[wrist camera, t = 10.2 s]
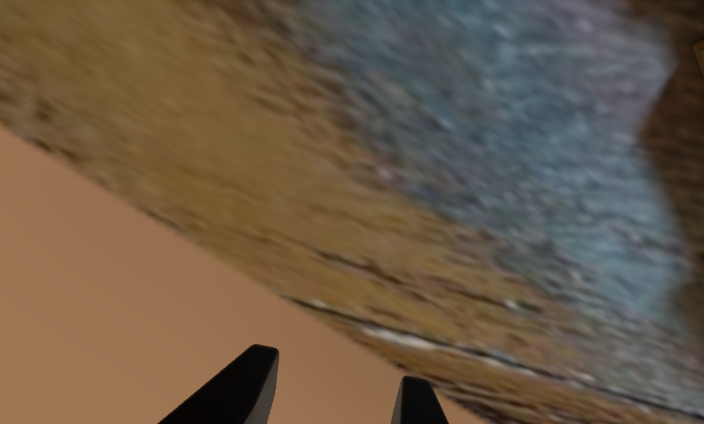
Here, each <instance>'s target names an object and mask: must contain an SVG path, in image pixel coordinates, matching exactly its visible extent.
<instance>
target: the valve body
mask: <svg viewBox="0 0 704 424" xmlns="http://www.w3.org/2000/svg"><path fill="white" fill-rule="evenodd" d="M691 46H692V48H693V51H694V54H695V56H696V59H697V61H698V64H699V67H700V69H701V72H702V74H703V77H704V39H703V40H701V41H699V42H697V43H695V44H693V45H691Z"/></svg>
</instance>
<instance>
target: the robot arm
mask: <svg viewBox="0 0 704 424" xmlns="http://www.w3.org/2000/svg"><path fill="white" fill-rule="evenodd" d="M278 362H279V351H278V349H276V348H273V347H269V346H264V345H259V344H254V345H252V346H251V347H249V348H248V349H247V350H245V351H244V352H243V353H242V354H241V355H239V356H238V357H237V358H236V359H235V360H234V361H232V362H231V363H230V364H229V365H227V367H225V368H224V369H223V370H221V371H220V372H219V373H218V374H217V375H215V376H214V377H213V378H212V379H211V380H209V381H208V382H207V383H206V384H205V385H204V386H202V387H201V388H200V389H199V390H197V391H196V392H195V393H194V394H193V395H191V396H190V397H189V398H188V399H186V400H185V401H184V402H183V403H182V404H181V405H179V406H178V407H177V408H176V409H175V410H173V411H172V412H171V413H170V414H168V415H167V416H166V417H165V418H164V419H163V420H161V421H160V422H159V423H158V424H267V420H268V417H269V413H270V410H271V406H272V402H273V399H274V394H275V389H276V381H277V372H278ZM391 424H449V423H448V421H447V418H446V416H445V414H444V412H443V410H442V407H441V405H440V403H439V401H438V399H437V397H436V394H435V392H434V390H433V388H432V386H431V384H430V382H429V381H428V380H426V379H421V378H417V377H412V376H404V377H403V378H402V380H401V383H400V387H399V391H398V395H397V399H396V403H395V407H394V411H393V416H392V421H391Z"/></svg>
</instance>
